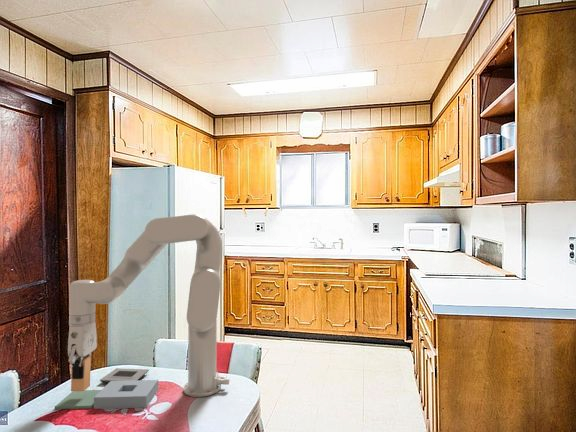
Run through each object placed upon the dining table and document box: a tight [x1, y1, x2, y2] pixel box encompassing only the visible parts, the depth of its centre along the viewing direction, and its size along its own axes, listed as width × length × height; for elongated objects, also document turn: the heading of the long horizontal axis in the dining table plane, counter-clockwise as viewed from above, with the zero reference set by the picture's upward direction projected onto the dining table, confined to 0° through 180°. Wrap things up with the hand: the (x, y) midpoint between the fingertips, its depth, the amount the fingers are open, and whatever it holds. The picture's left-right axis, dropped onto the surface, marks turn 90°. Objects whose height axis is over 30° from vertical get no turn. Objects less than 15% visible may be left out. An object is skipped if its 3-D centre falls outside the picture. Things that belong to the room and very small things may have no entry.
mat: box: [54, 389, 102, 410], centre depth 120 cm, size 11×11×1 cm
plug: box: [70, 354, 92, 392], centre depth 120 cm, size 4×4×11 cm
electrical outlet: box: [99, 367, 150, 383], centre depth 137 cm, size 13×10×2 cm
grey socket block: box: [93, 379, 159, 410], centre depth 121 cm, size 16×12×4 cm
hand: (81, 374), depth 120 cm, fingers closed on plug, 4 cm apart
